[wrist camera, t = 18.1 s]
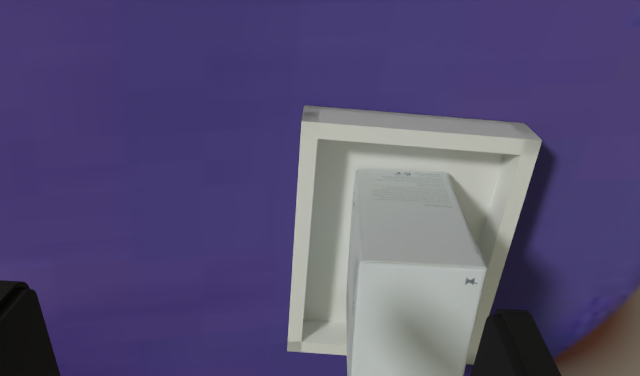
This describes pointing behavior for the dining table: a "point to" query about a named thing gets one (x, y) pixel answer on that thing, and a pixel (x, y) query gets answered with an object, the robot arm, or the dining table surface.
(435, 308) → the skincare box
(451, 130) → the tray
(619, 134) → the dining table surface
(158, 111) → the dining table surface
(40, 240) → the dining table surface
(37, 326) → the robot arm
